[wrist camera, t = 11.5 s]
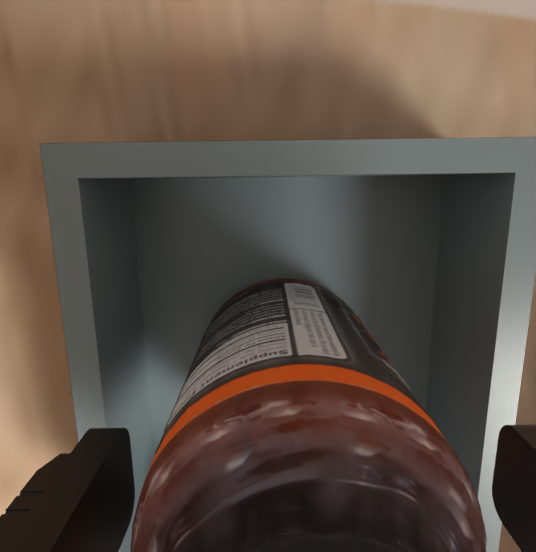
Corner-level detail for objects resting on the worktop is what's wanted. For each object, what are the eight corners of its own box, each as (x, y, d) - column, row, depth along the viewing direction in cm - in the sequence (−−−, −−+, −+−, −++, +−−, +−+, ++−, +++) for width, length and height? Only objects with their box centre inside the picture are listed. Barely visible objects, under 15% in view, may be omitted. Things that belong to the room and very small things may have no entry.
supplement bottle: (384, 397, 16) (678, 924, 5) (235, 444, 16) (171, 1037, 5) (338, 249, 14) (590, 478, 3) (177, 303, 15) (-86, 674, 4)
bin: (456, 151, 15) (553, 137, 10) (427, 492, 18) (490, 611, 13) (115, 156, 14) (39, 143, 10) (146, 497, 18) (101, 618, 13)
